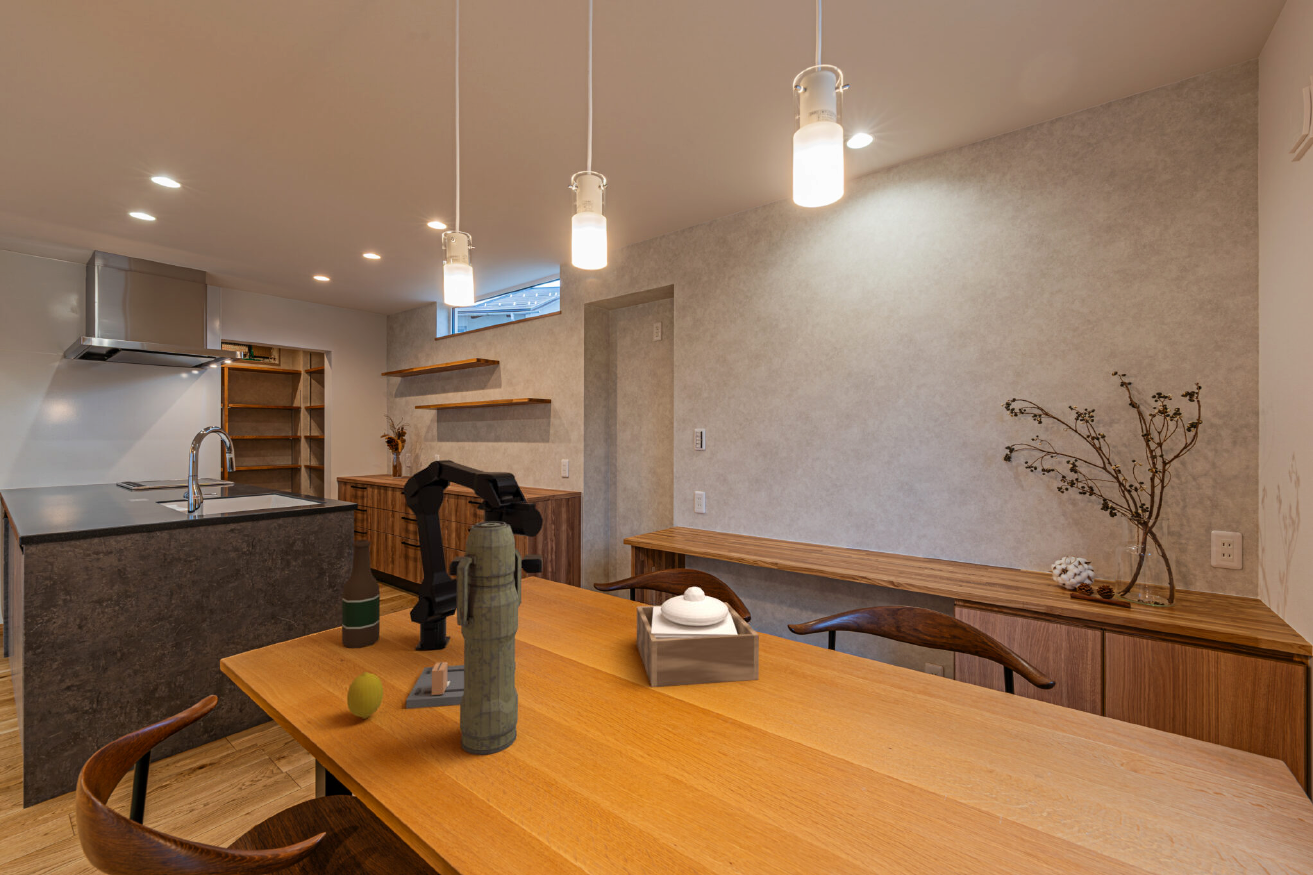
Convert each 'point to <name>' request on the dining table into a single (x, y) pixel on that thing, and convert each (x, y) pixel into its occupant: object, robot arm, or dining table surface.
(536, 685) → the dining table surface
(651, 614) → the dish corral
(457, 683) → the console
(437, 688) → the fader
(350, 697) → the lemon
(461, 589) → the thermos
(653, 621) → the butter dish
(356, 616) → the beer bottle
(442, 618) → the robot arm
